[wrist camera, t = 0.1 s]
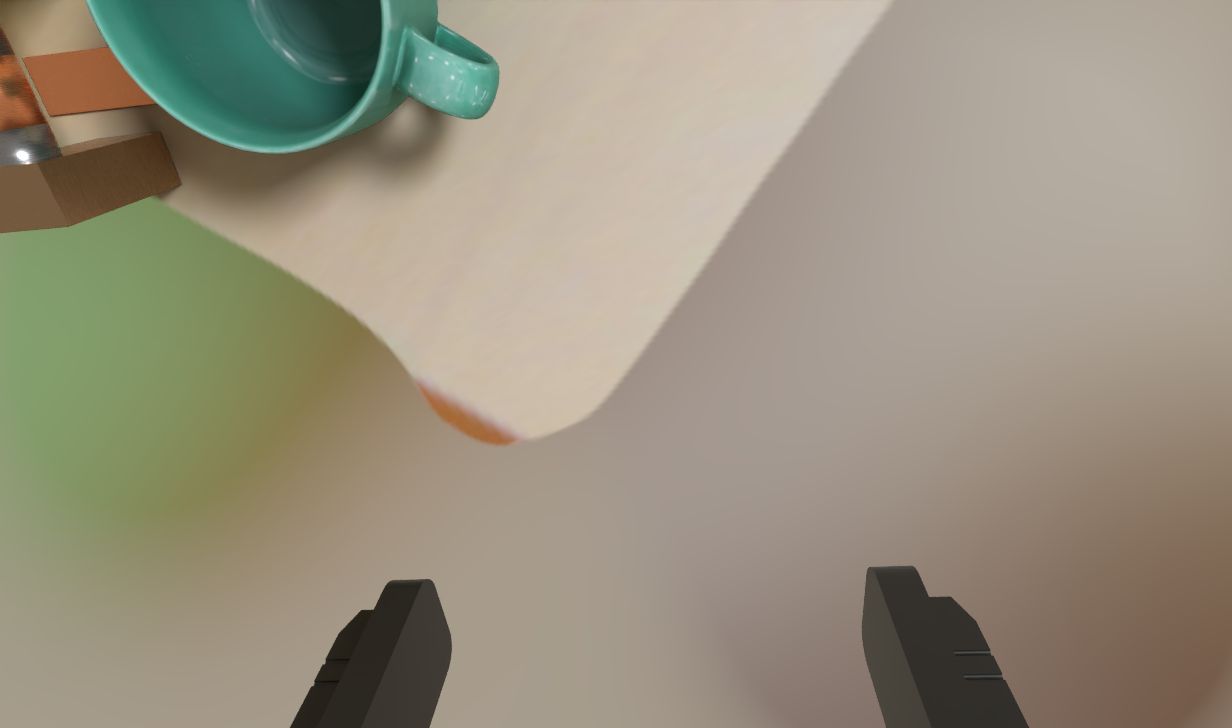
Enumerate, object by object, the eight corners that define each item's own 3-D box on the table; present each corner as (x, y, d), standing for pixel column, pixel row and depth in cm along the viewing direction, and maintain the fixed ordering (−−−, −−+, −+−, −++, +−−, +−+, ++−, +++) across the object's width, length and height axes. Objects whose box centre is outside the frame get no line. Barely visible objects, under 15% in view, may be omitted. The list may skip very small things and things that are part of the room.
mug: (189, 43, 36) (44, 55, 28) (246, -224, 30) (87, -310, 22) (469, 199, 39) (415, 252, 31) (568, -18, 33) (535, -24, 25)
